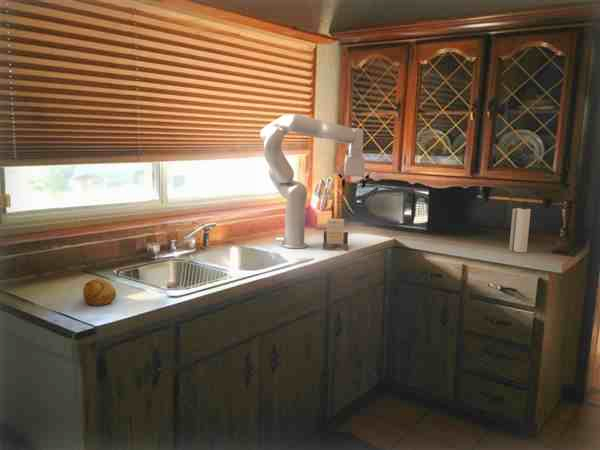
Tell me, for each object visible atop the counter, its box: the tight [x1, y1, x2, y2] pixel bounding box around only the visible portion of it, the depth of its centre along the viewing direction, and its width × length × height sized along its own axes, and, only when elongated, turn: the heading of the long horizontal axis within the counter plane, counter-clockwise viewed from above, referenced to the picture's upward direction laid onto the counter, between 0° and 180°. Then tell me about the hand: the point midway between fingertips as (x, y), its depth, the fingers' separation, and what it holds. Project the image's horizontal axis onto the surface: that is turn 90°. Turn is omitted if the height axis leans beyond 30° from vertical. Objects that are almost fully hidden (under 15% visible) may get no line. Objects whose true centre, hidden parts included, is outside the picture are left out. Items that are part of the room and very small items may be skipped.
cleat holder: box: [322, 230, 349, 252], centre depth 262 cm, size 12×12×7 cm
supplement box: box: [326, 218, 345, 244], centre depth 262 cm, size 8×5×13 cm, turn 85°
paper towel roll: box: [508, 207, 531, 254], centre depth 263 cm, size 7×6×21 cm
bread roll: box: [82, 278, 117, 306], centre depth 172 cm, size 13×10×8 cm
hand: (353, 187), depth 271 cm, fingers open, 9 cm apart
